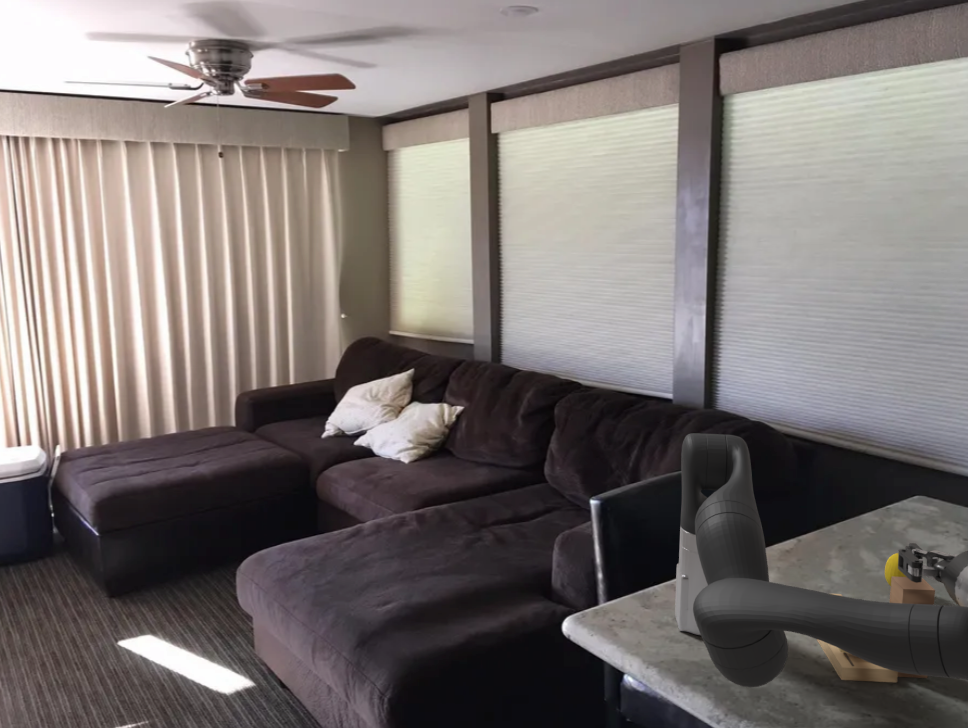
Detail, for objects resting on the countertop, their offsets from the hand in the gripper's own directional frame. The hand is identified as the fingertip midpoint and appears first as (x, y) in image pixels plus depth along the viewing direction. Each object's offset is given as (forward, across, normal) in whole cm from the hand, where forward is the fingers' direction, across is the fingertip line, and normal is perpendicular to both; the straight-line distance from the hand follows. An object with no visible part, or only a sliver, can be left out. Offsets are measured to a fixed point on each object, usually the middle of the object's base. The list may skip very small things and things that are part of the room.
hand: (946, 552), depth 109 cm
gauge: (+16, -4, -23) cm, 28 cm away
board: (+24, -8, -22) cm, 34 cm away
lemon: (+45, +6, -20) cm, 50 cm away
